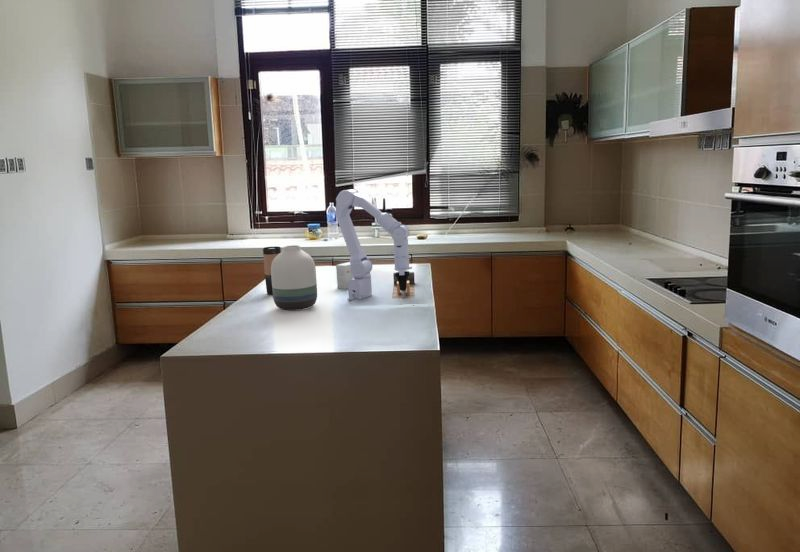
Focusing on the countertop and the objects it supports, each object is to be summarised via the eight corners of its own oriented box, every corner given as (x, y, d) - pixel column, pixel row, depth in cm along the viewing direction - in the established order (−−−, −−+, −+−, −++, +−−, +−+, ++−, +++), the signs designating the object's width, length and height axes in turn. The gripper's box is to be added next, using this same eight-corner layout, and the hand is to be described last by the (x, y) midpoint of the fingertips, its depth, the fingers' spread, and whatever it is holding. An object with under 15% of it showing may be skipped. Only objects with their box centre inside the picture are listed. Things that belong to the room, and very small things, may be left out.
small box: (349, 284, 291) (348, 262, 289) (358, 286, 287) (357, 262, 285) (337, 288, 285) (335, 264, 283) (346, 289, 281) (344, 265, 279)
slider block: (409, 294, 259) (409, 283, 258) (397, 294, 259) (396, 283, 258) (409, 291, 264) (409, 280, 263) (397, 291, 264) (397, 281, 263)
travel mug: (287, 292, 280) (284, 247, 276) (273, 295, 274) (269, 249, 271) (277, 290, 285) (273, 246, 281) (262, 293, 279) (259, 248, 276)
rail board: (414, 300, 252) (414, 285, 251) (391, 301, 252) (391, 286, 251) (414, 285, 283) (414, 271, 282) (394, 285, 283) (393, 272, 282)
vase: (269, 306, 253) (264, 246, 249) (311, 301, 259) (307, 242, 255) (279, 315, 237) (274, 250, 233) (323, 309, 244) (319, 246, 240)
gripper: (411, 258, 245) (413, 293, 248) (411, 253, 260) (413, 286, 262) (393, 259, 246) (394, 294, 248) (394, 253, 260) (395, 286, 262)
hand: (403, 290), depth 255 cm, fingers closed
